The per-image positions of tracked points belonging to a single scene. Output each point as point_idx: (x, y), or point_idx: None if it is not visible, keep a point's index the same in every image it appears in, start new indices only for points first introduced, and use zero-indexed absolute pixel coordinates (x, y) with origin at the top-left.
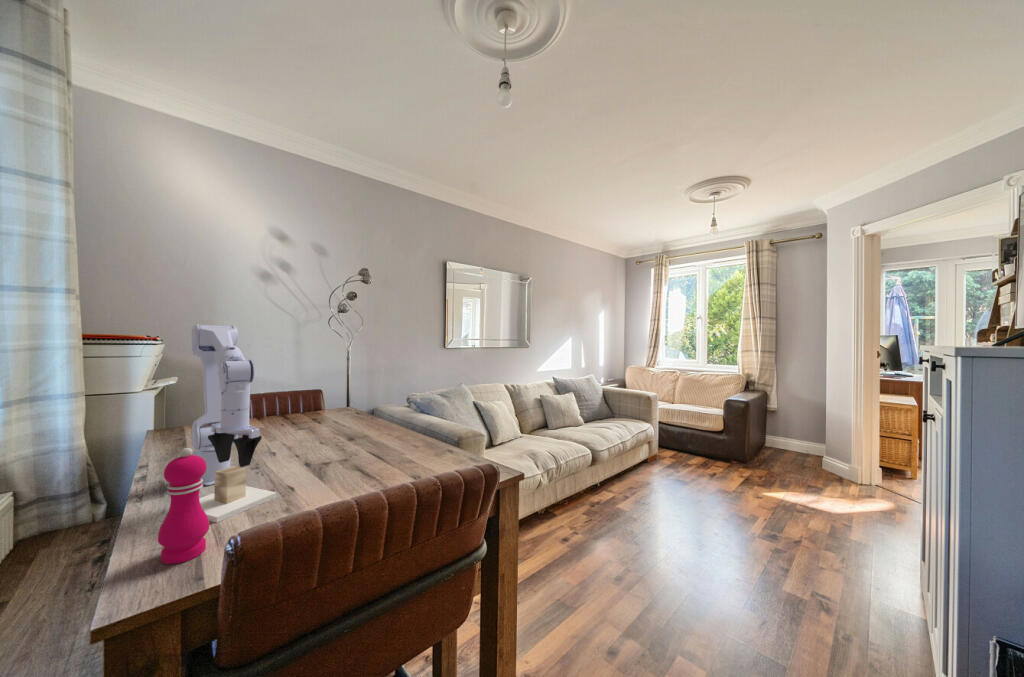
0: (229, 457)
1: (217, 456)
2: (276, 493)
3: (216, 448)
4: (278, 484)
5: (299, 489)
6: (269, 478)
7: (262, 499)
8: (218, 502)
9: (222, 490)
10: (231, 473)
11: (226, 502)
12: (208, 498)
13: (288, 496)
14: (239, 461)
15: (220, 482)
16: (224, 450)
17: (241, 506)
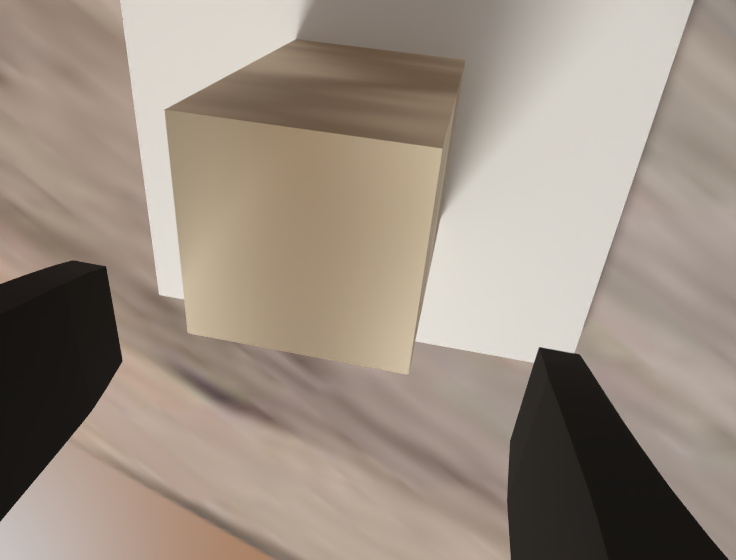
0: (510, 478)
1: (603, 412)
2: (163, 290)
3: (632, 546)
4: (355, 433)
5: (166, 389)
6: (500, 500)
7: (150, 192)
8: (394, 42)
9: (328, 70)
10: (171, 162)
11: (297, 42)
12: (571, 86)
13: (125, 300)
14: (19, 290)
15: (340, 92)
16: (546, 557)
17: (136, 34)
